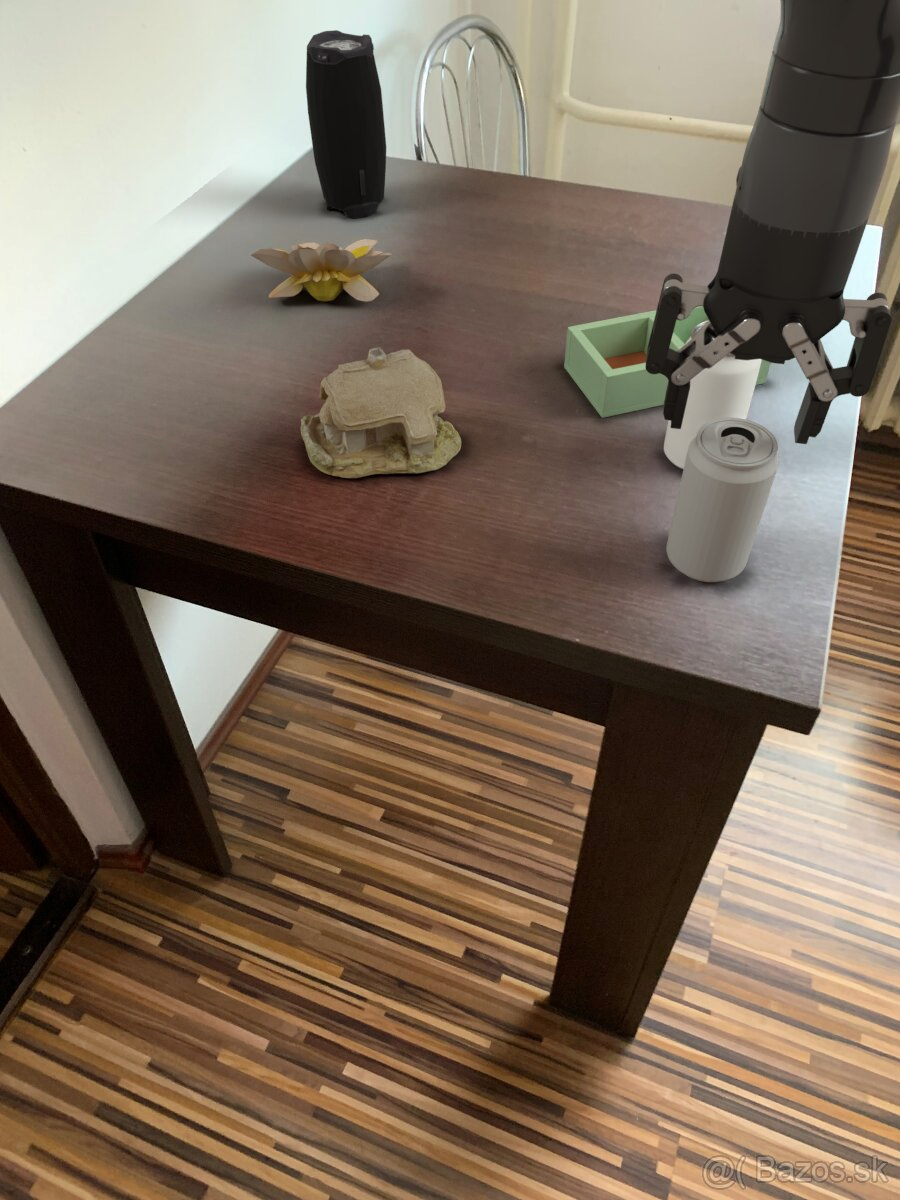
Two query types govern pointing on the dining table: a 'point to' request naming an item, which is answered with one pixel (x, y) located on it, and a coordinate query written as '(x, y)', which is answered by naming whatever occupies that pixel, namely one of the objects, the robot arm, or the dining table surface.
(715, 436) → the beverage can
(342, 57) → the portable speaker
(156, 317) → the dining table surface
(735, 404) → the can
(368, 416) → the ceramic model
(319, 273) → the decorative flower
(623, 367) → the cup holder
